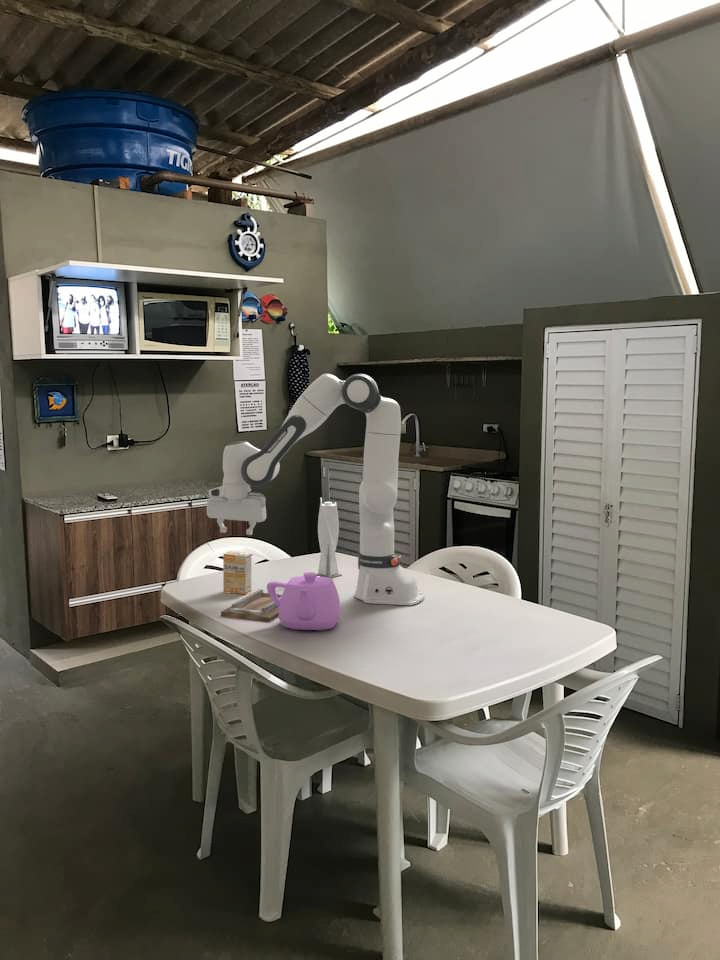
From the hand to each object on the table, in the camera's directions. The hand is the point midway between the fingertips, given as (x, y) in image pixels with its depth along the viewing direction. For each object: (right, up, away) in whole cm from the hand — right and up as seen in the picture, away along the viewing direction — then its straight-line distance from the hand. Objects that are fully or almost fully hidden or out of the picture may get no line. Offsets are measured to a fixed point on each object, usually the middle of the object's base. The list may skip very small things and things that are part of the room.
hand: (236, 533), depth 251 cm
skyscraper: (+29, -17, +26) cm, 42 cm away
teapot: (+26, -24, -32) cm, 48 cm away
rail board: (+10, -22, -16) cm, 29 cm away
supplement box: (0, -20, +2) cm, 20 cm away
